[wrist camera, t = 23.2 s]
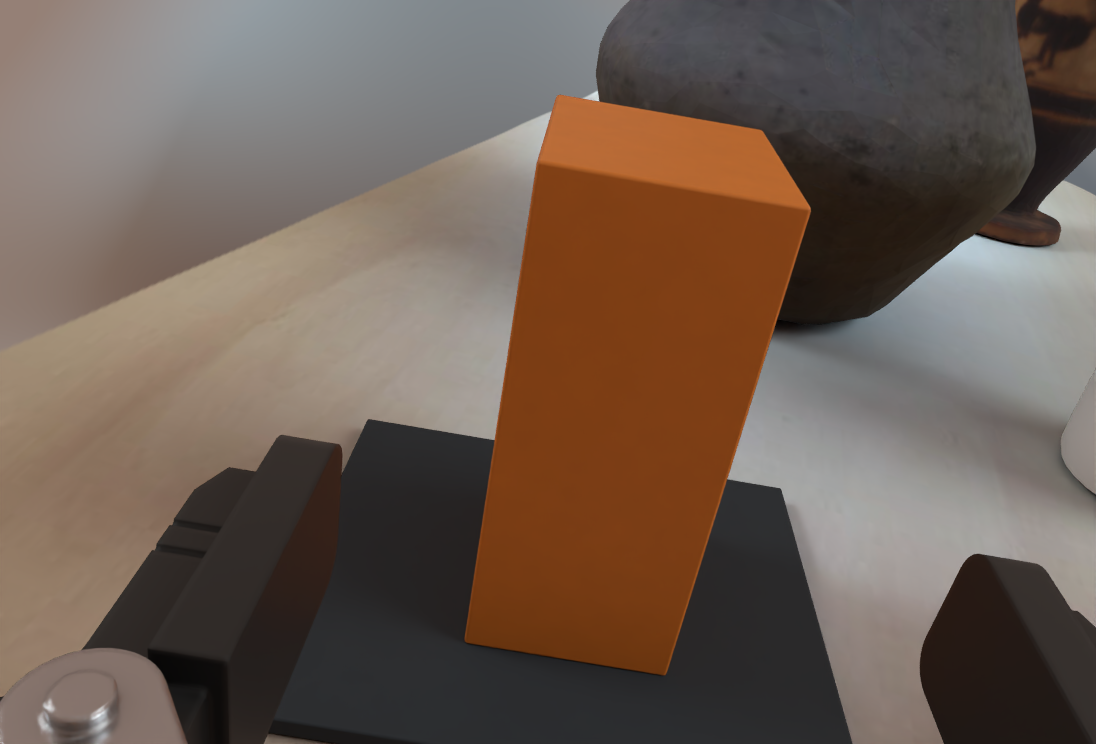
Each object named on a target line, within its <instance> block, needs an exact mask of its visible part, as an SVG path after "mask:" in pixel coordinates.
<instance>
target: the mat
mask: <svg viewBox="0 0 1096 744" xmlns="http://www.w3.org/2000/svg"><path fill="white" fill-rule="evenodd" d="M494 442H495V440H490V439H484V438H478V437H472V436H466V435H460V434H454V433H448V432H442V431H436V430H430V429H424V428H418V427H412V426H406V425H400V424H394V423H389V422H383V421H377V420H371V419H368V420H367V422H366V424H365V426H364V429H363V431H362V433H361V435H360V437H359V439H358V441H357V443H356V446H355V448H354V450H353V452H352V454H351V456H350V458H349V460H348V463H347V465H346V467H345V469H344V471H343V473H342V475H341V491H340V509H339V527H338V542H337V550H336V556H335V561H334V566H333V570H332V574H331V578H330V581H329V584H328V587H327V590H326V592H325V595H324V597H323V600H322V602H321V605H320V607H319V609H318V612H317V614H316V617H315V619H314V622H313V624H312V627H311V629H310V631H309V634H308V636H307V639H306V641H305V644H304V646H303V648H302V651H301V653H300V656H299V658H298V661H297V663H296V666H295V668H294V670H293V673H292V675H291V678H290V680H289V683H288V685H287V687H286V690H285V692H284V695H283V697H282V700H281V702H280V705H279V707H278V709H277V712H276V714H275V717H274V719H273V722H272V724H271V727H270V729H269V731H268V733H275V734H281V735H287V736H293V737H299V738H305V739H312V740H318V741H324V742H330V743H336V744H852V740H851V737H850V733H849V730H848V726H847V723H846V719H845V715H844V712H843V708H842V705H841V701H840V698H839V694H838V690H837V687H836V683H835V680H834V676H833V673H832V669H831V666H830V662H829V658H828V655H827V651H826V648H825V644H824V641H823V637H822V633H821V630H820V626H819V623H818V619H817V616H816V612H815V608H814V605H813V601H812V598H811V594H810V591H809V587H808V583H807V580H806V576H805V573H804V569H803V566H802V562H801V559H800V555H799V551H798V548H797V544H796V541H795V537H794V534H793V530H792V526H791V523H790V519H789V516H788V512H787V509H786V505H785V501H784V498H783V494H782V491H781V489H780V488H775V487H769V486H763V485H757V484H751V483H745V482H739V481H733V480H727V481H726V485H725V488H724V491H723V494H722V497H721V501H720V504H719V507H718V510H717V513H716V517H715V520H714V523H713V526H712V529H711V533H710V536H709V539H708V542H707V545H706V549H705V552H704V555H703V558H702V561H701V565H700V568H699V571H698V574H697V577H696V581H695V584H694V587H693V590H692V593H691V597H690V600H689V603H688V606H687V609H686V613H685V616H684V619H683V622H682V625H681V629H680V632H679V635H678V638H677V642H676V645H675V648H674V651H673V654H672V658H671V661H670V664H669V667H668V670H667V673H666V675H663V676H662V675H656V674H650V673H644V672H638V671H632V670H626V669H620V668H614V667H608V666H602V665H596V664H590V663H584V662H578V661H572V660H566V659H560V658H553V657H547V656H541V655H535V654H529V653H523V652H517V651H511V650H505V649H499V648H493V647H487V646H481V645H475V644H469V643H466V642H465V633H466V626H467V619H468V613H469V606H470V600H471V593H472V586H473V580H474V573H475V567H476V560H477V554H478V547H479V540H480V534H481V527H482V521H483V514H484V507H485V501H486V494H487V488H488V481H489V474H490V468H491V461H492V455H493V448H494Z"/></svg>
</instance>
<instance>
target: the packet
mask: <svg viewBox="0 0 1096 744" xmlns="http://www.w3.org/2000/svg"><path fill="white" fill-rule="evenodd" d="M810 212H811V208H810V206H809V204H808V203H807V201H806V200H805V198H804V196H803V195H802V193H801V192H800V190H799V188H798V187H797V185H796V184H795V182H794V180H793V179H792V177H791V176H790V174H789V172H788V171H787V169H786V168H785V166H784V164H783V163H782V161H781V160H780V158H779V156H778V155H777V153H776V152H775V150H774V148H773V147H772V145H771V144H770V142H769V140H768V139H767V137H766V136H765V134H764V132H763V131H761V130H758V129H752V128H747V127H741V126H735V125H730V124H724V123H718V122H712V121H707V120H701V119H695V118H690V117H684V116H678V115H672V114H667V113H661V112H655V111H650V110H644V109H638V108H632V107H627V106H621V105H615V104H610V103H604V102H598V101H592V100H587V99H581V98H575V97H569V96H564V95H558V96H557V97H556V100H555V103H554V107H553V110H552V113H551V117H550V120H549V123H548V127H547V130H546V134H545V137H544V140H543V144H542V147H541V151H540V154H539V157H538V161H537V165H536V171H535V178H534V185H533V191H532V198H531V204H530V211H529V218H528V224H527V231H526V237H525V244H524V251H523V257H522V264H521V270H520V277H519V283H518V290H517V297H516V303H515V310H514V316H513V323H512V330H511V336H510V343H509V349H508V356H507V363H506V369H505V376H504V382H503V389H502V395H501V402H500V409H499V415H498V422H497V428H496V435H495V442H494V448H493V455H492V461H491V468H490V474H489V481H488V488H487V494H486V501H485V507H484V514H483V521H482V527H481V534H480V540H479V547H478V554H477V560H476V567H475V573H474V580H473V586H472V593H471V600H470V606H469V613H468V619H467V626H466V633H465V642H466V643H469V644H475V645H481V646H487V647H493V648H499V649H505V650H511V651H517V652H523V653H529V654H535V655H541V656H547V657H553V658H560V659H566V660H572V661H578V662H584V663H590V664H596V665H602V666H608V667H614V668H620V669H626V670H632V671H638V672H644V673H650V674H656V675H662V676H663V675H666V673H667V670H668V667H669V664H670V661H671V658H672V654H673V651H674V648H675V645H676V642H677V638H678V635H679V632H680V629H681V625H682V622H683V619H684V616H685V613H686V609H687V606H688V603H689V600H690V597H691V593H692V590H693V587H694V584H695V581H696V577H697V574H698V571H699V568H700V565H701V561H702V558H703V555H704V552H705V549H706V545H707V542H708V539H709V536H710V533H711V529H712V526H713V523H714V520H715V517H716V513H717V510H718V507H719V504H720V501H721V497H722V494H723V491H724V488H725V485H726V481H727V478H728V475H729V472H730V469H731V465H732V462H733V459H734V456H735V453H736V449H737V446H738V443H739V440H740V437H741V433H742V430H743V427H744V424H745V421H746V417H747V414H748V411H749V408H750V405H751V401H752V398H753V395H754V392H755V389H756V385H757V382H758V379H759V376H760V373H761V369H762V366H763V363H764V360H765V356H766V353H767V350H768V347H769V344H770V340H771V337H772V334H773V331H774V328H775V324H776V321H777V318H778V315H779V312H780V308H781V305H782V302H783V299H784V296H785V292H786V289H787V286H788V283H789V280H790V276H791V273H792V270H793V267H794V264H795V260H796V257H797V254H798V251H799V248H800V244H801V241H802V238H803V235H804V232H805V228H806V225H807V222H808V219H809V216H810Z"/></svg>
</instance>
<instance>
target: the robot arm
mask: <svg viewBox="0 0 1096 744" xmlns="http://www.w3.org/2000/svg"><path fill="white" fill-rule="evenodd" d="M341 473H342V448H341V446H340V445H339V444H333V443H327V442H322V441H316V440H310V439H304V438H298V437H292V436H286V435H280V436H279V437H278V438H277V439H276V440H275V442H274V443H273V445H272V447H271V448H270V450H269V451H268V453H267V455H266V456H265V458H264V460H263V461H262V463H261V464H260V466H259V468H258V469H257V471H256V472H254V471H248V470H242V469H236V468H230V467H229V468H227V469H226V470H224V471H223V472H221V473H220V474H218V475H216V476H215V477H213V478H212V479H210V480H209V481H207V482H206V483H204V484H203V485H201V486H199V487H198V488H196V489H195V490H194V491H193V493H192V494H191V495H190V497H189V498H188V500H187V501H186V503H185V504H184V505H183V507H182V508H181V510H180V511H179V513H178V514H177V515H176V517H175V518H174V522H173V525H169V527H168V528H167V530H166V531H165V533H164V534H163V535H162V537H161V538H160V540H159V541H158V543H157V546H156V549H155V551H154V550H152V551H151V553H150V554H149V555H148V557H147V558H146V560H145V561H144V562H143V564H142V565H141V567H140V568H139V570H138V571H137V572H136V574H135V575H134V577H133V578H132V580H131V581H130V582H129V584H128V585H127V587H126V588H125V590H124V591H123V592H122V594H121V595H120V597H119V598H118V600H117V601H116V602H115V604H114V605H113V607H112V608H111V610H110V611H109V612H108V614H107V615H106V617H105V618H104V620H103V621H102V622H101V624H100V625H99V627H98V628H97V630H96V631H95V632H94V634H93V635H92V637H91V638H90V640H89V641H88V642H87V644H86V645H85V646H84V648H83V649H82V650H80V651H76V652H72V653H68V654H65V655H62V656H60V657H57V658H54V659H52V660H50V661H48V662H46V663H44V664H42V665H40V666H38V667H37V668H35V669H34V670H32V671H30V672H29V673H27V674H26V675H25V676H24V677H22V678H21V679H20V680H19V681H17V682H16V683H15V684H14V685H13V686H12V687H11V689H10V690H9V691H8V692H7V693H6V694H5V696H3V697H0V744H264V741H265V739H266V736H267V734H268V731H269V729H270V727H271V724H272V722H273V719H274V717H275V714H276V712H277V709H278V707H279V705H280V702H281V700H282V697H283V695H284V692H285V690H286V687H287V685H288V683H289V680H290V678H291V675H292V673H293V670H294V668H295V666H296V663H297V661H298V658H299V656H300V653H301V651H302V648H303V646H304V644H305V641H306V639H307V636H308V634H309V631H310V629H311V627H312V624H313V622H314V619H315V617H316V614H317V612H318V609H319V607H320V605H321V602H322V600H323V597H324V595H325V592H326V590H327V587H328V584H329V581H330V578H331V574H332V570H333V566H334V561H335V556H336V550H337V542H338V527H339V509H340V491H341ZM920 677H921V683H922V688H923V691H924V694H925V696H926V699H927V701H928V704H929V706H930V709H931V711H932V714H933V717H934V719H935V722H936V724H937V727H938V729H939V732H940V734H941V737H942V740H943V742H944V744H1096V627H1095V626H1094V625H1093V624H1091V623H1090V622H1089V621H1088V620H1087V619H1086V618H1085V617H1084V616H1083V615H1082V614H1080V613H1079V612H1078V611H1073V610H1071V609H1070V607H1069V605H1068V604H1067V602H1066V601H1065V599H1064V598H1063V596H1062V595H1061V593H1060V591H1059V590H1058V588H1057V587H1056V585H1055V584H1054V582H1053V580H1052V579H1051V577H1050V576H1049V574H1048V573H1047V572H1046V570H1045V569H1044V568H1043V567H1042V566H1040V565H1038V564H1035V563H1030V562H1024V561H1018V560H1012V559H1006V558H1000V557H994V556H988V555H982V554H974V555H972V556H970V557H969V558H968V559H967V560H966V561H965V562H964V563H963V565H962V567H961V569H960V570H959V572H958V574H957V576H956V578H955V580H954V582H953V584H952V586H951V588H950V590H949V592H948V594H947V596H946V598H945V600H944V602H943V604H942V606H941V608H940V610H939V612H938V614H937V616H936V618H935V620H934V622H933V624H932V626H931V628H930V630H929V632H928V634H927V636H926V638H925V641H924V643H923V647H922V651H921V657H920Z"/></svg>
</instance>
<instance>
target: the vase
mask: <svg viewBox="0 0 1096 744" xmlns="http://www.w3.org/2000/svg"><path fill="white" fill-rule="evenodd" d="M1015 11H1016V21H1017V32H1018V41H1019V46H1020V52H1021V57H1022V62H1023V68H1024V73H1025V79H1026V84H1027V89H1028V95H1029V100H1030V105H1031V111H1032V119H1033V127H1034V135H1035V143H1036V152H1035V161H1034V167H1033V168H1032V170H1031V172H1030V174H1029V176H1028V178H1027V180H1026V181H1025V183H1024V185H1023V187H1022V189H1021V191H1020V193H1019V194H1018V195H1017V196H1016V197H1015V199H1014V200H1013V201H1012V202H1011V203H1010V204H1009V205H1008V206H1007V207H1005V208H1004V209H1003V210H1002V211H1001V212H1000V213H999V214H997V215H996V216H995V217H994V218H993V219H992V220H990V221H989V222H988V223H987V224H986V225H985V226H983V227H982V228H981V229H980V230H979V231H978V232H977V233H979V234H982V235H985V236H988V237H993V238H996V239H999V240H1002V241H1007V242H1013V243H1018V244H1025V245H1051V244H1055V243H1056V242H1058V240H1059V236H1060V232H1061V226H1060V224H1059V222H1058V221H1057V220H1056V219H1054V218H1052V217H1050V216H1048V215H1046V214H1044V213H1042V212H1040V211H1038V210H1037V209H1038V207H1039V205H1040V204H1041V202H1042V201H1043V200H1044V199H1045V197H1046V196H1047V195H1048V194H1049V193H1050V192H1051V191H1052V190H1053V189H1054V188H1055V187H1056V186H1057V185H1058V184H1059V183H1060V182H1061V181H1063V180H1064V179H1065V177H1067V176H1068V175H1069V174H1070V173H1071V172H1072V171H1073V170H1074V169H1075V168H1076V167H1077V166H1078V165H1079V164H1080V163H1081V162H1082V161H1083V160H1084V159H1085V158H1086V157H1087V156H1088V155H1089V154H1090V153H1091V152H1092V151H1093V150H1094V149H1095V148H1096V0H1016V1H1015Z"/></svg>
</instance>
